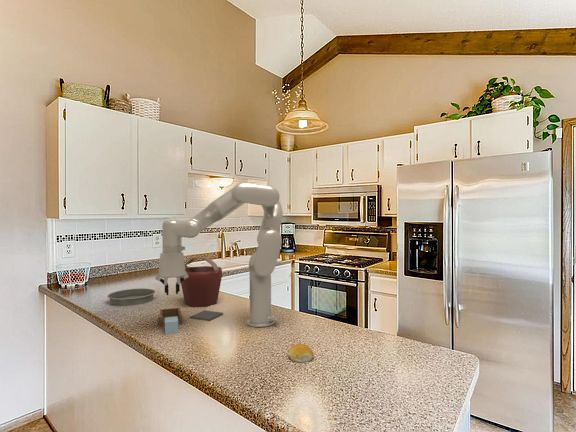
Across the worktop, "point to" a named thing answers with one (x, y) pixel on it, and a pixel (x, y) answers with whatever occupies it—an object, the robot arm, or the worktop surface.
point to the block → (171, 325)
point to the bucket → (201, 284)
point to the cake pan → (131, 297)
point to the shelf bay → (170, 314)
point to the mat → (206, 315)
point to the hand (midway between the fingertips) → (172, 293)
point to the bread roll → (300, 353)
